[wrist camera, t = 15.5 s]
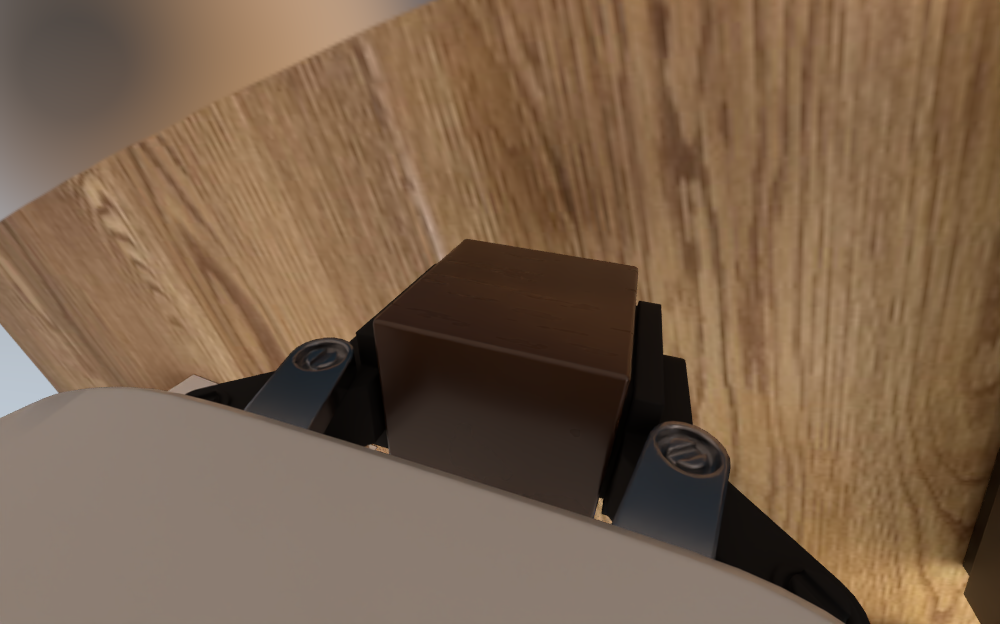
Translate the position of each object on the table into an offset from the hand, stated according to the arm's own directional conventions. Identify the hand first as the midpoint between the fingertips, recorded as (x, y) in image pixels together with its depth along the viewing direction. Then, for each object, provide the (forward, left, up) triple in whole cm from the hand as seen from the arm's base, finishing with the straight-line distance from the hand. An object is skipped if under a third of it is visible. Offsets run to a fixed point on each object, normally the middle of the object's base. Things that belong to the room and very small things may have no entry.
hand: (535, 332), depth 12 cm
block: (0, 0, 0) cm, 0 cm away
